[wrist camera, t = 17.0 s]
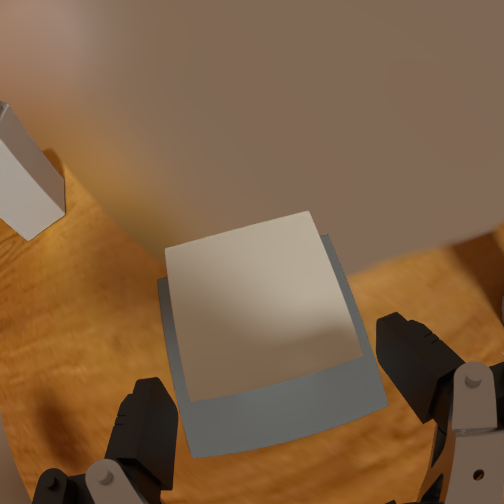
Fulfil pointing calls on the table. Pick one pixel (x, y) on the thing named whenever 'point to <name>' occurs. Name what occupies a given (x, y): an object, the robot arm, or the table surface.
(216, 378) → the block
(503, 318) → the coffee cup
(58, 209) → the milk carton
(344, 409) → the mat
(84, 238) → the table surface
